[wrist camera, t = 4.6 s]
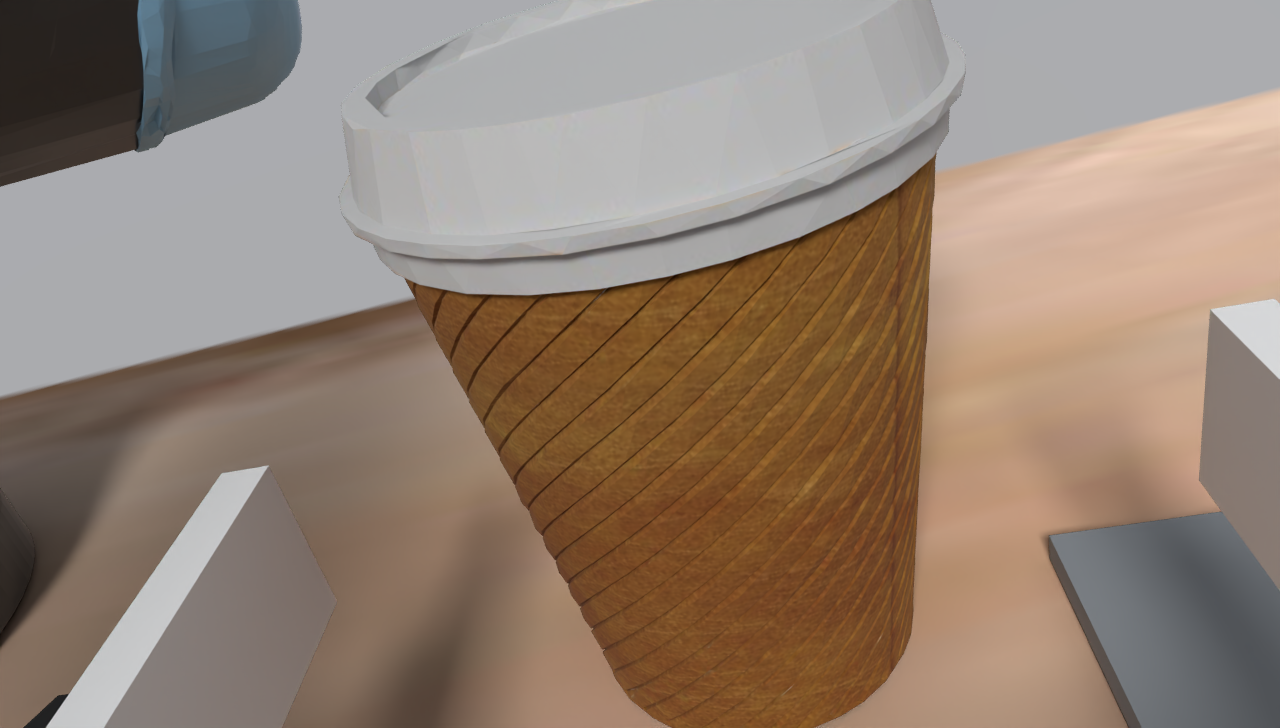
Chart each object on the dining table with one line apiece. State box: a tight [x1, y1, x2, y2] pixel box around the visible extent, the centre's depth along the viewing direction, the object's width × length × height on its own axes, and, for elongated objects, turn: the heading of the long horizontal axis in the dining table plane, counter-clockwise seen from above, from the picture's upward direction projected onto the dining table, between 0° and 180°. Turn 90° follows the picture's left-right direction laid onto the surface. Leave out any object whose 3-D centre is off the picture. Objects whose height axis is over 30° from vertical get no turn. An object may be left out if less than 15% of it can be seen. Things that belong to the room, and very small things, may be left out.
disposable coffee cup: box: [339, 0, 965, 728], centre depth 17 cm, size 10×10×12 cm
